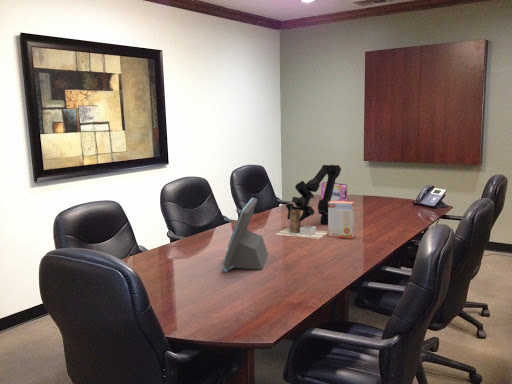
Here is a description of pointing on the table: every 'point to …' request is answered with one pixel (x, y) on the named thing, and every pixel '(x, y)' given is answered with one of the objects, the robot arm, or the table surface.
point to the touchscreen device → (245, 244)
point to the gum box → (336, 192)
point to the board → (316, 235)
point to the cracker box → (341, 219)
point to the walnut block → (295, 221)
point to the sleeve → (308, 230)
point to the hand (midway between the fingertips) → (293, 220)
